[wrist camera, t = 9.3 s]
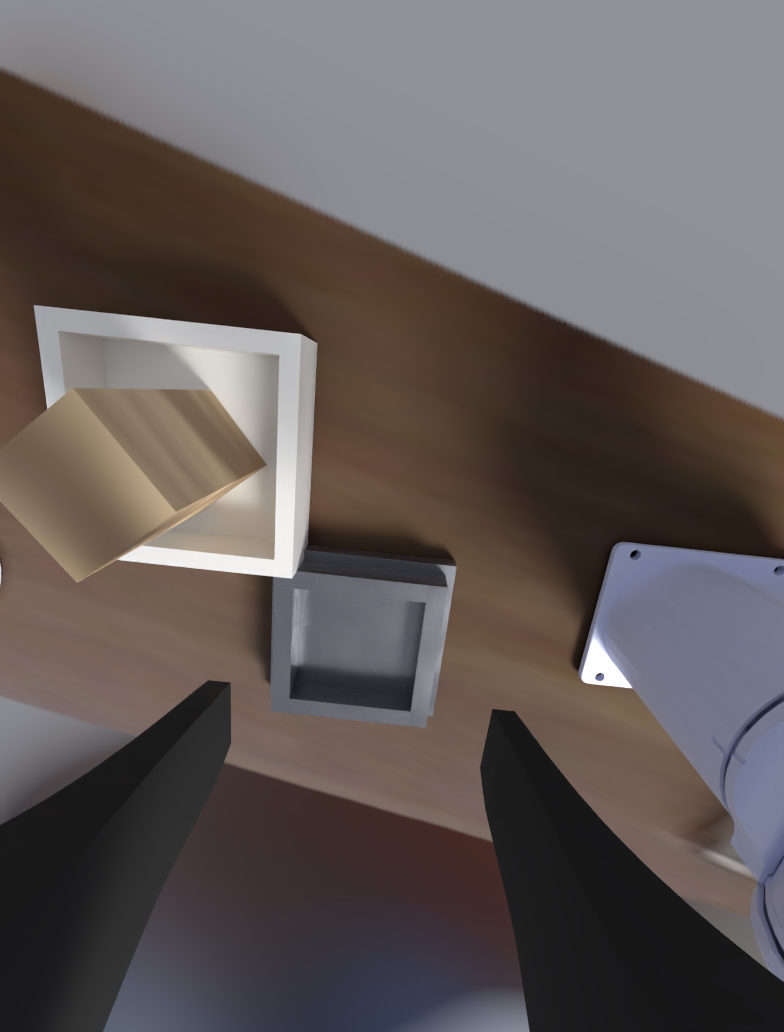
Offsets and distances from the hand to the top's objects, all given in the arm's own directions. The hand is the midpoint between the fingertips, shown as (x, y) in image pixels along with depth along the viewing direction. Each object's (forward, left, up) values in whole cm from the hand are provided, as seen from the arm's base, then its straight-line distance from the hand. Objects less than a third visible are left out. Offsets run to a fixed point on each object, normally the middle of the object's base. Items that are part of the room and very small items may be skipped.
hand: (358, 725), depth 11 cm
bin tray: (+9, -5, -10) cm, 15 cm away
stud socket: (+1, +4, -10) cm, 11 cm away
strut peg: (+9, -5, -10) cm, 14 cm away
